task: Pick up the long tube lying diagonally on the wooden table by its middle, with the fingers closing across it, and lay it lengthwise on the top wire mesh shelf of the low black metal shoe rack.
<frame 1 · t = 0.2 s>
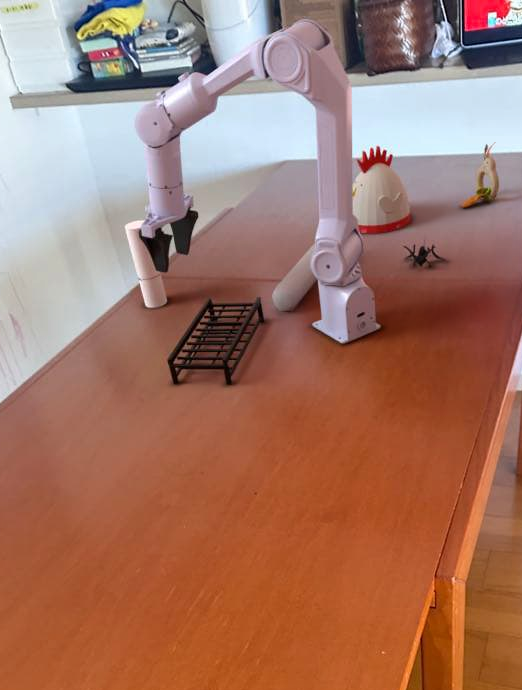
hand: (172, 262, 134), 10 cm above the table, tool pointing down, fingers open, 7 cm apart
creature: (423, 264, 146), on the table
rattle: (476, 202, 167), on the table
kitchen timer: (378, 222, 166), on the table
shoe rack: (221, 351, 130), on the table
tube: (307, 286, 145), on the table
tube 2: (156, 303, 148), on the table
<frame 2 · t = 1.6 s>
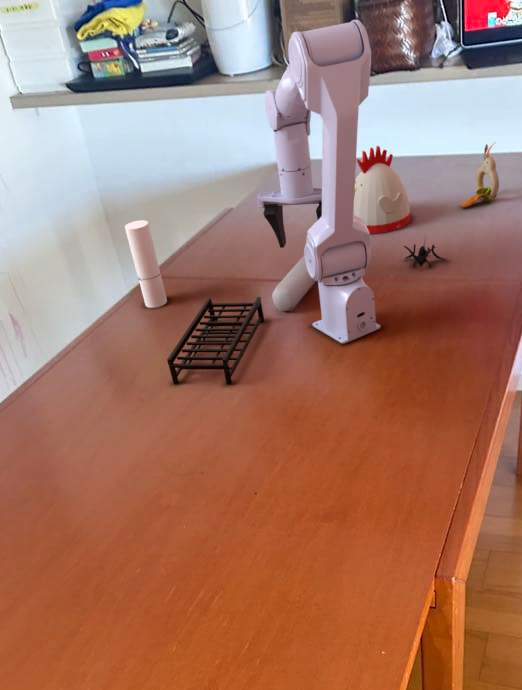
hand: (303, 244, 140), 8 cm above the table, tool pointing down, fingers open, 7 cm apart
nothing on the table moved.
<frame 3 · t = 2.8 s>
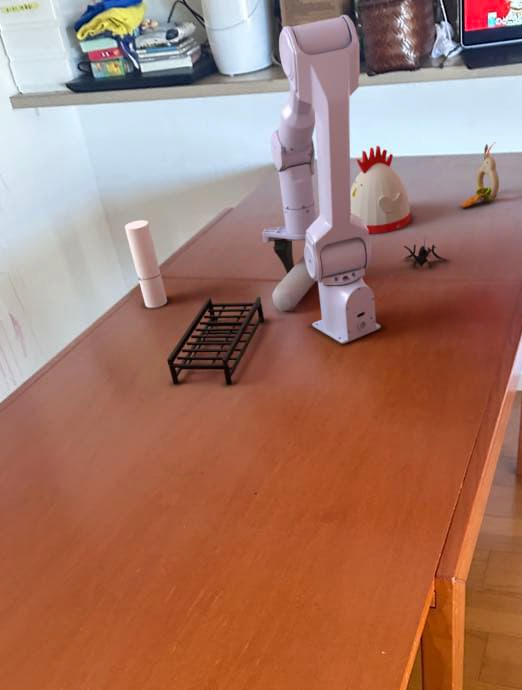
hand: (307, 278, 144), 1 cm above the table, tool pointing down, fingers closed on tube, 5 cm apart
tube: (307, 286, 145), on the table, touching gripper
everything else where it was.
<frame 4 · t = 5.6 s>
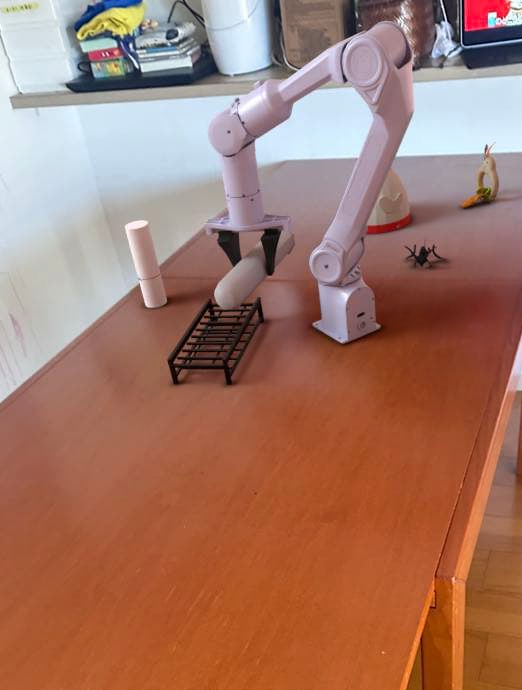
hand: (255, 273, 131), 8 cm above the table, tool pointing down, fingers closed on tube, 5 cm apart
tube: (257, 282, 132), point 7 cm above the table, touching gripper
everything else where it was.
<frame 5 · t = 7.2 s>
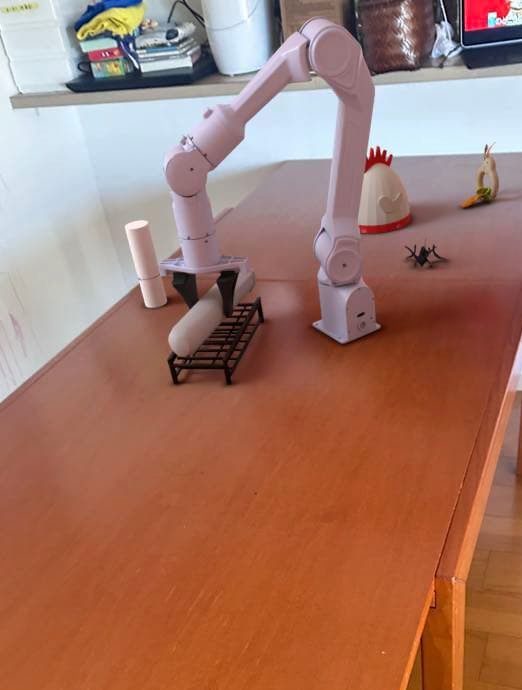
hand: (213, 315, 125), 6 cm above the table, tool pointing down, fingers closed on tube, 5 cm apart
tube: (215, 324, 127), point 5 cm above the table, touching gripper
everything else where it was.
when the fingers open (5 cm above the table, at t = 8.3 s): tube stays where it is, resting on shoe rack.
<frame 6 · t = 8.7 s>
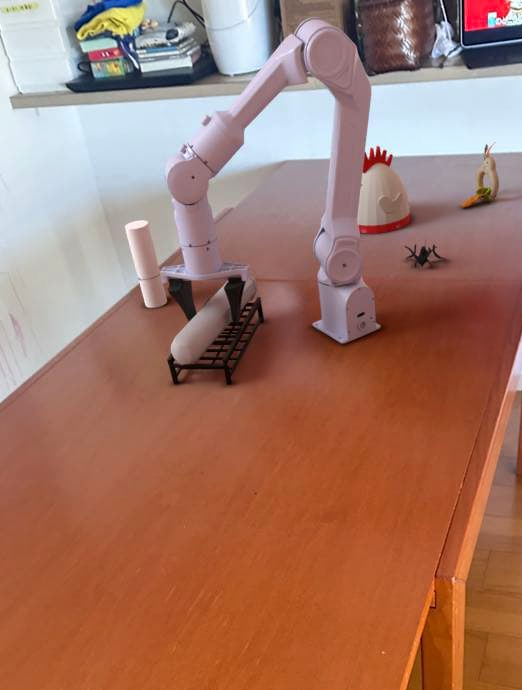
hand: (215, 321, 126), 5 cm above the table, tool pointing down, fingers open, 7 cm apart
tube: (217, 333, 128), point 3 cm above the table, touching shoe rack
everything else where it was.
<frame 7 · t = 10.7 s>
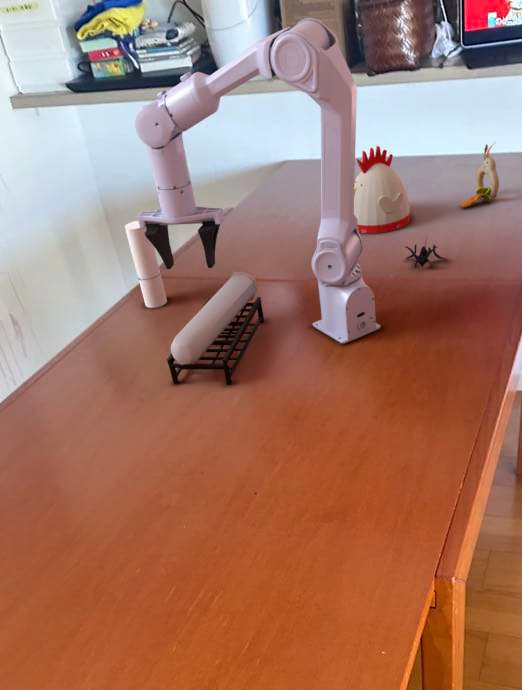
hand: (190, 266, 132), 10 cm above the table, tool pointing down, fingers open, 7 cm apart
nothing on the table moved.
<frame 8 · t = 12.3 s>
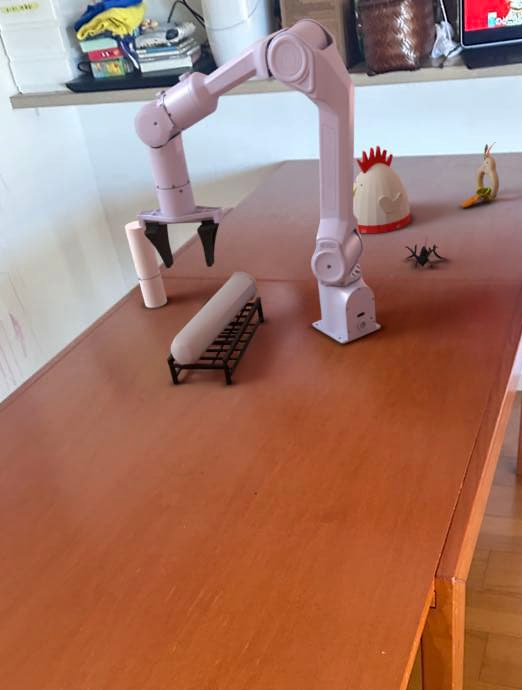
hand: (190, 265, 133), 10 cm above the table, tool pointing down, fingers open, 7 cm apart
nothing on the table moved.
at the end: tube inside the target area on the shoe rack (0.1 cm from its centre), point 3.3 cm above the shoe rack's base; tube touching shoe rack; the gripper is holding nothing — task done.
